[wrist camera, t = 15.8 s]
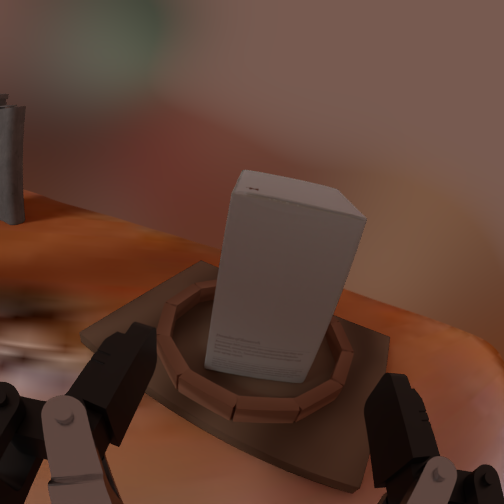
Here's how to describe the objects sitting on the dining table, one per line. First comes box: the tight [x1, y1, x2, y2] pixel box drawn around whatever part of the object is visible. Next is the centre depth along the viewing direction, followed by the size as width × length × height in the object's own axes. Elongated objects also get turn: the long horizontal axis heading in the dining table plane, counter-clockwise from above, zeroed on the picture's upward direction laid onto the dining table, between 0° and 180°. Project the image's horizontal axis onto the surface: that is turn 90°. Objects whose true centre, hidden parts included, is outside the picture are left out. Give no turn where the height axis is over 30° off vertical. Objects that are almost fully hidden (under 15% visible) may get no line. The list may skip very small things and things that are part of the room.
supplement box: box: [204, 170, 367, 383], centre depth 20 cm, size 7×7×13 cm
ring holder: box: [79, 261, 390, 493], centre depth 23 cm, size 22×17×2 cm
